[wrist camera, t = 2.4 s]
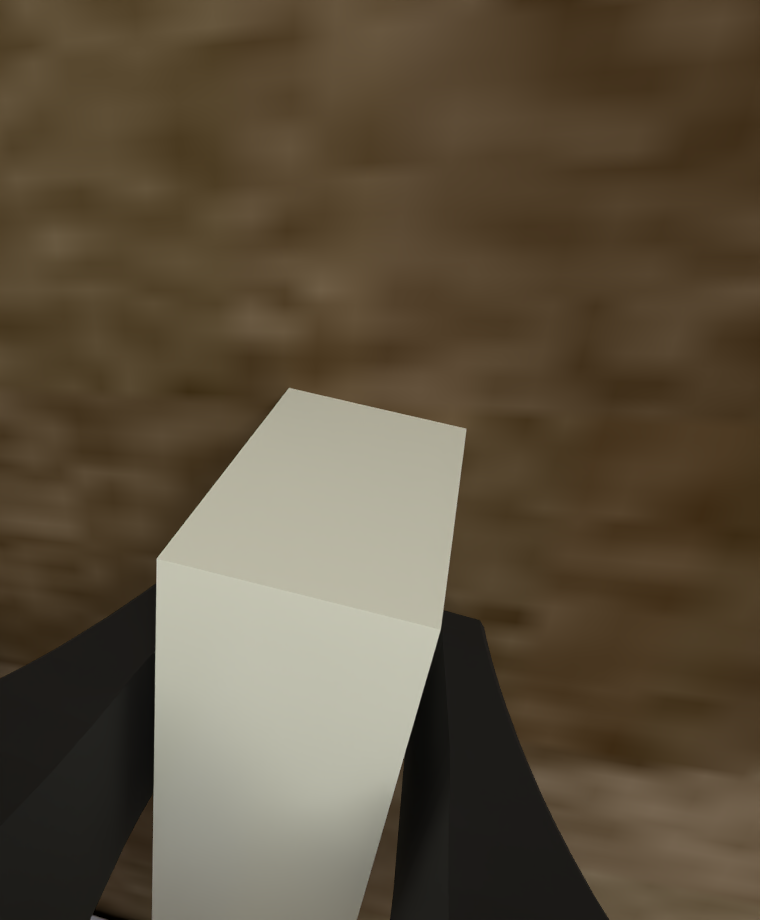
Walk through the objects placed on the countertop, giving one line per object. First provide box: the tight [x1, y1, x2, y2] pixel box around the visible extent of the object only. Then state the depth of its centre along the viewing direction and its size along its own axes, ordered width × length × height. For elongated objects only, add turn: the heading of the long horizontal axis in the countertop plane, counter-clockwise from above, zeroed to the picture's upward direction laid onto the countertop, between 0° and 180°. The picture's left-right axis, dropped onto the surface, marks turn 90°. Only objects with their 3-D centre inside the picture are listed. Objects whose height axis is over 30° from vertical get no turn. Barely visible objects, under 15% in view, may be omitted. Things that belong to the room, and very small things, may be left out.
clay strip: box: [152, 388, 466, 920], centre depth 12 cm, size 12×3×5 cm, turn 170°
